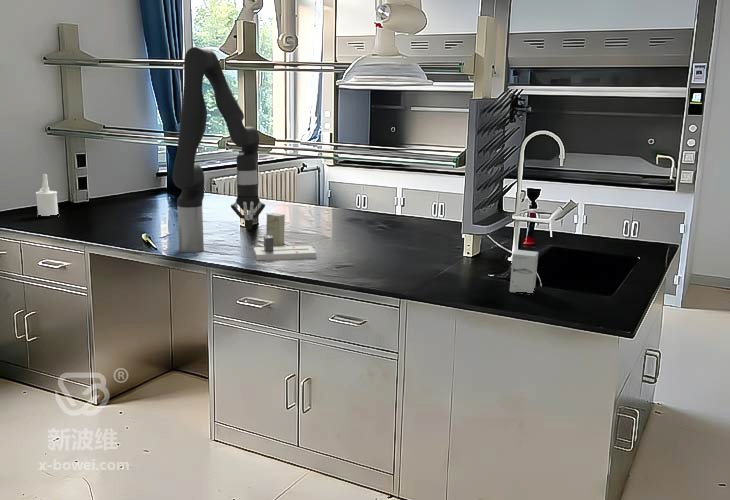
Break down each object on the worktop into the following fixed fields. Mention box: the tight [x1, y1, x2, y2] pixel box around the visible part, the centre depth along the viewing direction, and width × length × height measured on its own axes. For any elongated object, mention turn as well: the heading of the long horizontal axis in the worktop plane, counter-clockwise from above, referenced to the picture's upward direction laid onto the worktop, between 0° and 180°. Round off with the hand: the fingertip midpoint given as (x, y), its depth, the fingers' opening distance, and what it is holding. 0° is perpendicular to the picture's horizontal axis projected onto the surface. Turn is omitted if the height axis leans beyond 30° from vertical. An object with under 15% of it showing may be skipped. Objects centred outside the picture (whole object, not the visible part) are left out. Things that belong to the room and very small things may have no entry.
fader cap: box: [263, 235, 274, 251], centre depth 261 cm, size 3×5×5 cm, turn 14°
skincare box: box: [265, 212, 286, 247], centre depth 280 cm, size 6×4×12 cm
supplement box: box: [509, 249, 539, 294], centre depth 221 cm, size 7×7×13 cm
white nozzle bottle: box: [35, 173, 59, 216], centre depth 327 cm, size 10×9×20 cm
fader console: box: [253, 245, 317, 261], centre depth 263 cm, size 22×12×2 cm, turn 104°
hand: (248, 229), depth 258 cm, fingers closed
